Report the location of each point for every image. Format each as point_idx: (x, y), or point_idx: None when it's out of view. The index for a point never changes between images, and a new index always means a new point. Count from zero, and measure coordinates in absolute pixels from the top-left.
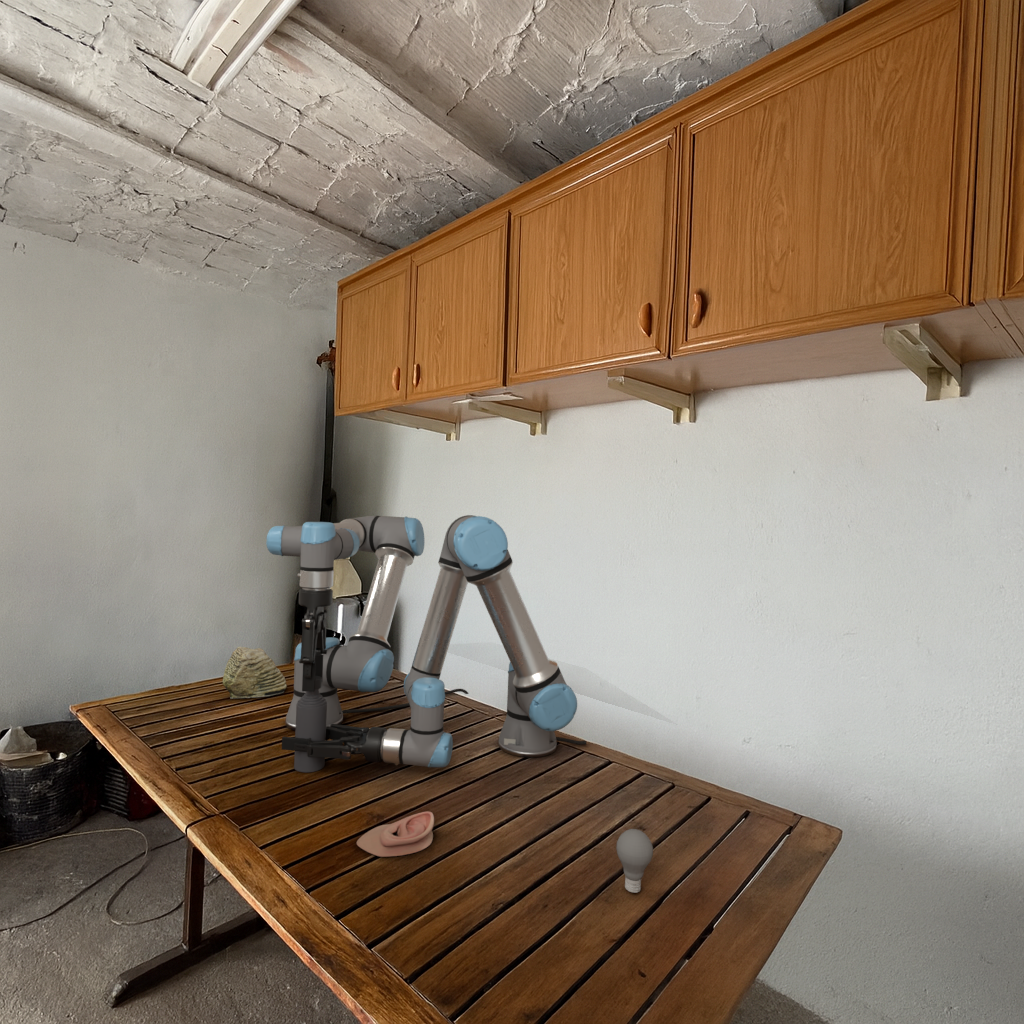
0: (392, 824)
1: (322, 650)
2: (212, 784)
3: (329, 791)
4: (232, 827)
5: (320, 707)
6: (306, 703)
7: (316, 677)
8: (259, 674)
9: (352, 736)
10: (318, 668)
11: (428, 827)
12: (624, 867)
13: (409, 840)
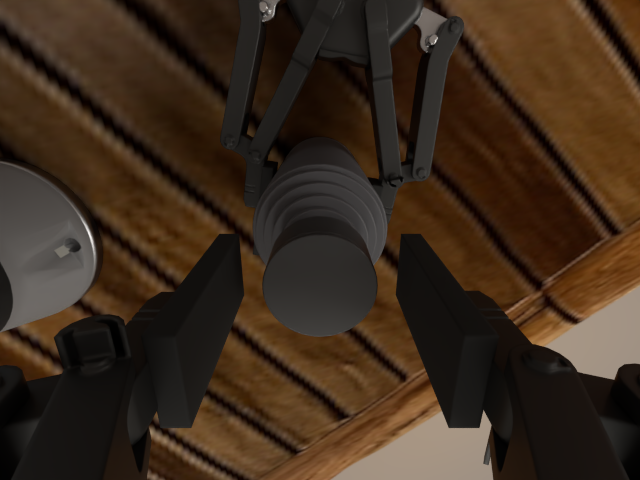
0: None
1: (125, 379)
2: (412, 342)
3: (470, 86)
4: (604, 250)
5: (366, 181)
6: (374, 248)
7: (304, 270)
8: None
9: (373, 26)
10: (216, 297)
11: None
12: None
13: None
